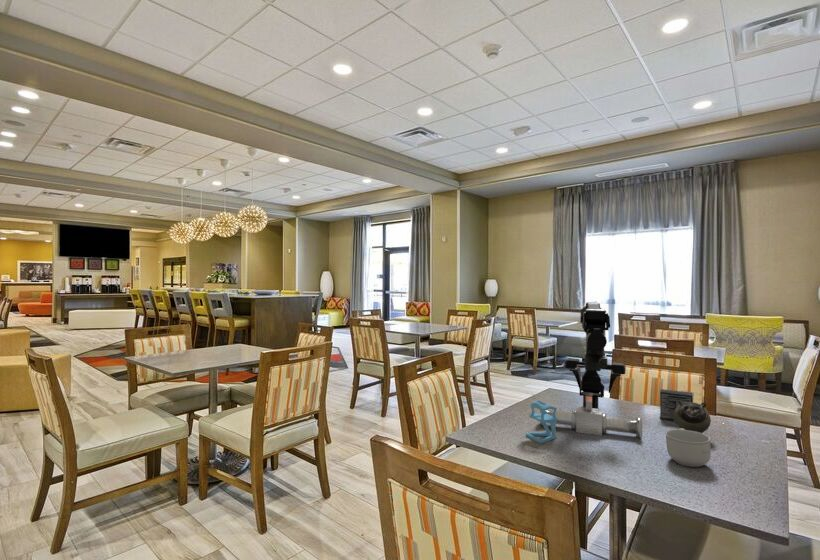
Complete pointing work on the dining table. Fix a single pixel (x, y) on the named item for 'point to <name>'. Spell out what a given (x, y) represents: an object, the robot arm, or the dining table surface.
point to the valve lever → (588, 400)
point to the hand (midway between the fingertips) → (594, 391)
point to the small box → (672, 402)
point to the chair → (543, 421)
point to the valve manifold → (596, 422)
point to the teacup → (688, 447)
